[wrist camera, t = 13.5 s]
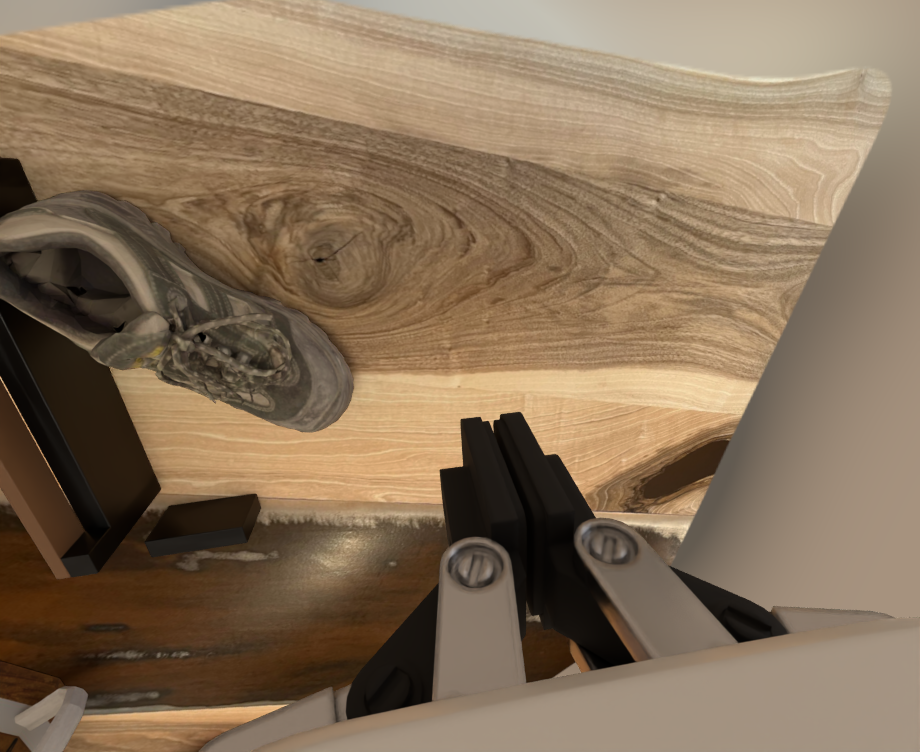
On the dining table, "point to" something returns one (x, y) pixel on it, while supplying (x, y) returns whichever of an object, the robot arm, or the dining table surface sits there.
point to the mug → (37, 710)
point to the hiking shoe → (166, 311)
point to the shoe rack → (84, 447)
